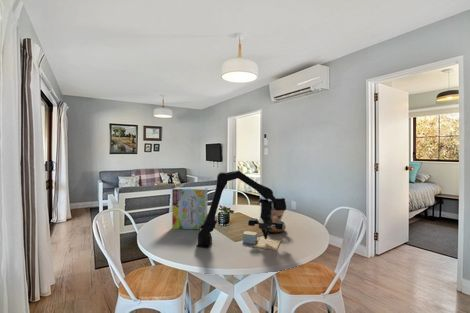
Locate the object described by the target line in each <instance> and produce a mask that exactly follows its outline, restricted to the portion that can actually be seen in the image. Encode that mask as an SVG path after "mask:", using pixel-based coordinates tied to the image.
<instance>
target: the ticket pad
mask: <svg viewBox="0 0 470 313" xmlns="http://www.w3.org/2000/svg"><path fill="white" fill-rule="evenodd" d="M281 242H282V240H280V239H274V238H267V239H265V238H264V237H259V238H257V242H256V243H255V244H253V248H259V249H265V250H272V251H277V250H278V248H279V246H280V244H281Z"/></svg>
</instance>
